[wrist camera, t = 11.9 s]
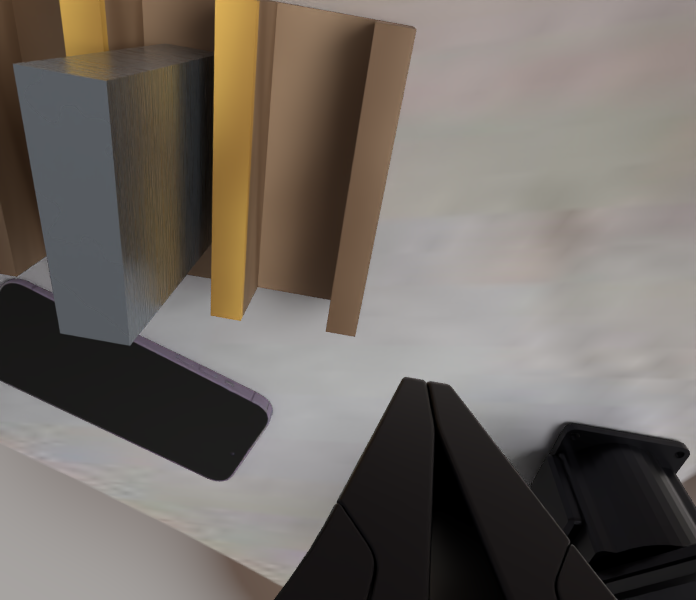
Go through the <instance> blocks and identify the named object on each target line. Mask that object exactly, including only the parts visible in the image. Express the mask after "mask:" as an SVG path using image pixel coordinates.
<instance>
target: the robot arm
mask: <svg viewBox="0 0 696 600" xmlns="http://www.w3.org/2000/svg"><path fill="white" fill-rule="evenodd" d="M572 433H575V434H572ZM689 455H690V451H689V450H688V448H687V447H686V445H685V444H684V443H681V442H676V441H670V440H664V439H659V438H653V437H648V436H642V435H636V434H631V433H625V432H619V431H614V430H608V429H602V428H597V427H591V426H585V425H580V424H569V425H567V426H565V427H564V429H563V430H562V432H561V434H560V436H559V438H558V440H557V441H556V443H555V445H554V447H553V449H552V451H551V453H550V455H549V456H547V457H546V459H545V461H544V462H543V464H542V466H541V468H540V470H539V472H538V474H537V476H536V478H535V479H534V481H533V483H532V485H531V489H530V488H529V487H528V485H527V484H526V483H525V481H524V480H523V479H522V478H521V476H520V475H519V474H518V472H517V471H516V470H515V468H514V467H513V466H512V465H511V463H510V462H509V461H508V459H507V458H506V457H505V456H504V454H503V453H502V452H501V450H500V449H499V448H498V446H497V445H496V444H495V443H494V441H493V440H492V439H491V437H490V436H489V435H488V433H487V432H486V431H485V430H484V428H483V427H482V426H481V424H480V423H479V422H478V421H477V419H476V418H475V417H474V415H473V414H472V413H471V411H470V410H469V409H468V408H467V406H466V405H465V404H464V402H463V401H462V400H461V398H460V397H459V396H458V395H457V393H456V392H455V391H454V389H453V388H452V387H451V386H450V385H448V384H444V383H438V382H432V381H429V382H427V383H426V382H425V381H424V380H421V379H415V378H410V377H404V378H403V379H402V381H401V382H400V384H399V386H398V388H397V390H396V392H395V394H394V396H393V397H392V399H391V401H390V403H389V405H388V407H387V409H386V411H385V412H384V414H383V416H382V418H381V420H380V422H379V424H378V425H377V427H376V429H375V431H374V433H373V435H372V437H371V439H370V440H369V442H368V444H367V446H366V448H365V450H364V452H363V454H362V455H361V457H360V459H359V461H358V463H357V465H356V467H355V469H354V470H353V472H352V474H351V476H350V478H349V480H348V482H347V484H346V485H345V487H344V489H343V491H342V493H341V495H340V497H339V498H338V500H337V504H335V505H334V507H333V509H332V511H331V513H330V515H329V517H328V518H327V520H326V522H325V524H324V526H323V527H322V529H321V531H320V532H319V534H318V536H317V538H316V539H315V541H314V543H313V544H312V546H311V548H310V550H309V551H308V552H307V554H306V555H305V557H304V558H303V560H302V561H301V563H300V564H299V566H298V567H297V568H296V570H295V571H294V573H293V574H292V576H291V577H290V579H289V580H288V581H287V583H286V584H285V585H284V587H283V588H282V590H281V591H280V592H279V594H278V595H277V596H276V598H275V599H274V600H696V507H695V505H694V504H693V502H692V500H691V498H690V497H689V495H688V493H687V492H686V490H685V488H684V487H683V485H682V484H681V482H680V480H679V479H678V477H677V475H676V473H677V472H678V470H679V469H680V468H681V466H682V465H683V464H684V462H685V461H686V460H687V458H688V457H689Z"/></svg>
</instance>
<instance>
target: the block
mask: <svg viewBox="0 0 696 600" xmlns="http://www.w3.org/2000/svg"><path fill="white" fill-rule="evenodd" d="M13 69H14V74H15V80H16V86H17V91H18V97H19V103H20V108H21V114H22V119H23V125H24V131H25V136H26V142H27V148H28V153H29V159H30V165H31V170H32V176H33V182H34V187H35V193H36V199H37V204H38V210H39V216H40V221H41V227H42V233H43V238H44V244H45V250H46V255H47V261H48V266H49V272H50V278H51V283H52V289H53V295H54V300H55V306H56V312H57V317H58V323H59V329H60V333H62V334H67V335H73V336H78V337H84V338H90V339H95V340H101V341H107V342H112V343H118V344H123V345H129V346H130V345H131V344H132V342H133V341H134V340H135V339H136V337H137V336H138V335H139V334H140V332H141V331H142V330H143V329H144V327H145V326H146V325H147V324H148V322H149V321H150V320H151V319H152V317H153V316H154V315H155V314H156V312H157V311H158V310H159V309H160V307H161V306H162V305H163V304H164V302H165V301H166V300H167V299H168V297H169V296H170V295H171V294H172V292H173V291H174V290H175V289H176V287H177V286H178V285H179V284H180V282H181V281H182V280H183V279H184V277H185V276H186V275H187V274H188V272H189V271H190V270H191V269H192V267H193V266H194V265H195V264H196V262H197V261H198V260H199V259H200V257H201V256H202V255H203V254H204V252H205V251H206V250H207V249H208V247H209V246H210V245H211V244H212V193H213V122H214V52H210V51H205V50H199V49H194V48H188V47H183V46H177V45H172V44H166V43H165V44H157V45H150V46H142V47H135V48H127V49H120V50H113V51H105V52H98V53H90V54H83V55H75V56H68V57H60V58H53V59H45V60H38V61H30V62H23V63H16V64H13Z"/></svg>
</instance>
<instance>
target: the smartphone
mask: <svg viewBox="0 0 696 600" xmlns="http://www.w3.org/2000/svg"><path fill="white" fill-rule="evenodd" d="M0 381H2V382H4V383H6V384H8V385H10V386H12V387H14V388H16V389H19V390H21V391H23V392H25V393H27V394H29V395H31V396H33V397H36V398H38V399H40V400H42V401H44V402H46V403H48V404H50V405H52V406H55V407H57V408H59V409H61V410H63V411H65V412H67V413H69V414H72V415H74V416H76V417H78V418H80V419H82V420H84V421H86V422H89V423H91V424H93V425H95V426H97V427H99V428H101V429H103V430H106V431H108V432H110V433H112V434H114V435H116V436H118V437H120V438H122V439H125V440H127V441H129V442H131V443H133V444H135V445H137V446H139V447H142V448H144V449H146V450H148V451H150V452H152V453H154V454H156V455H159V456H161V457H163V458H165V459H167V460H169V461H171V462H173V463H176V464H178V465H180V466H182V467H184V468H186V469H188V470H190V471H192V472H195V473H197V474H199V475H201V476H203V477H205V478H207V479H210V480H213V481H226V480H228V479H230V478H231V477H232V476H233V475H234V473H235V472H236V470H237V469H238V468H239V466H240V465H241V463H242V462H243V460H244V459H245V458H246V456H247V455H248V453H249V452H250V450H251V449H252V447H253V446H254V445H255V443H256V442H257V440H258V439H259V437H260V436H261V435H262V433H263V432H264V430H265V429H266V427H267V426H268V424H269V422H270V419H271V416H272V412H273V408H272V405H271V403H270V402H269V401H268V400H267V399H266V398H265V397H264V396H262V395H260V394H259V393H257V392H255V391H253V390H251V389H249V388H247V387H245V386H243V385H241V384H239V383H237V382H235V381H233V380H231V379H229V378H227V377H225V376H223V375H221V374H219V373H217V372H215V371H213V370H210V369H208V368H206V367H204V366H202V365H200V364H198V363H196V362H194V361H192V360H190V359H188V358H186V357H184V356H181V355H179V354H177V353H175V352H173V351H171V350H169V349H167V348H165V347H163V346H161V345H159V344H157V343H155V342H152V341H150V340H148V339H146V338H144V337H142V336H140V335H138V336H137V337H136V339H135V340H134V341H133V342H132V344H131V345H130V346H129V345H123V344H118V343H112V342H107V341H101V340H95V339H90V338H84V337H78V336H73V335H67V334H62V333H60V329H59V323H58V317H57V312H56V306H55V300H54V295H53V293H51V292H49V291H47V290H45V289H43V288H41V287H39V286H37V285H34V284H32V283H30V282H28V281H25V280H21V279H11V280H8V281H7V282H5V283H4V284H2V286H1V287H0Z"/></svg>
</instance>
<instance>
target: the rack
mask: <svg viewBox="0 0 696 600" xmlns="http://www.w3.org/2000/svg"><path fill="white" fill-rule="evenodd" d="M415 34H416V29H415V28H414V27H413V26H408V25H402V24H397V23H391V22H386V21H380V20H375V19H369V18H364V17H358V16H353V15H347V14H342V13H336V12H331V11H325V10H320V9H314V8H309V7H303V6H298V5H292V4H287V3H281V2H276V1H270V0H0V274H5V275H10V276H16V277H17V276H18V275H20V274H21V273H23V272H24V271H26V270H27V269H28V268H30V267H31V266H33V265H34V264H36V263H37V262H38V261H40V260H41V259H43V258H44V257H46V256H47V255H46V250H45V244H44V238H43V233H42V227H41V221H40V216H39V210H38V204H37V199H36V193H35V187H34V182H33V176H32V170H31V165H30V159H29V153H28V148H27V142H26V136H25V131H24V125H23V119H22V114H21V108H20V103H19V97H18V91H17V86H16V80H15V74H14V69H13V64H16V63H23V62H30V61H38V60H45V59H53V58H60V57H68V56H75V55H83V54H90V53H98V52H105V51H113V50H120V49H127V48H135V47H142V46H150V45H157V44H165V43H166V44H172V45H177V46H183V47H188V48H194V49H199V50H205V51H210V52H214V122H213V193H212V244H211V245H210V246H209V247H208V249H207V250H206V251H205V252H204V254H203V255H202V256H201V257H200V259H199V260H198V261H197V262H196V264H195V265H194V266H193V267H192V269H191V270H190V271H189V272H188V275H193V276H199V277H205V278H210V279H211V316H216V317H222V318H228V319H233V320H239V321H241V319H242V317H243V315H244V313H245V311H246V309H247V307H248V305H249V303H250V301H251V299H252V297H253V295H254V293H255V291H256V289H257V287H261V288H266V289H272V290H278V291H283V292H289V293H294V294H300V295H306V296H311V297H317V298H323V299H328V300H331V302H330V308H329V314H328V320H327V327H326V332H331V333H337V334H342V335H348V336H354V337H355V334H356V329H357V324H358V319H359V314H360V309H361V304H362V299H363V294H364V289H365V284H366V279H367V274H368V269H369V264H370V259H371V254H372V249H373V244H374V239H375V234H376V229H377V224H378V219H379V214H380V209H381V204H382V199H383V194H384V189H385V184H386V179H387V174H388V169H389V164H390V159H391V154H392V149H393V144H394V139H395V134H396V129H397V124H398V119H399V114H400V109H401V104H402V99H403V94H404V89H405V84H406V79H407V74H408V69H409V64H410V59H411V54H412V49H413V44H414V39H415Z"/></svg>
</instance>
